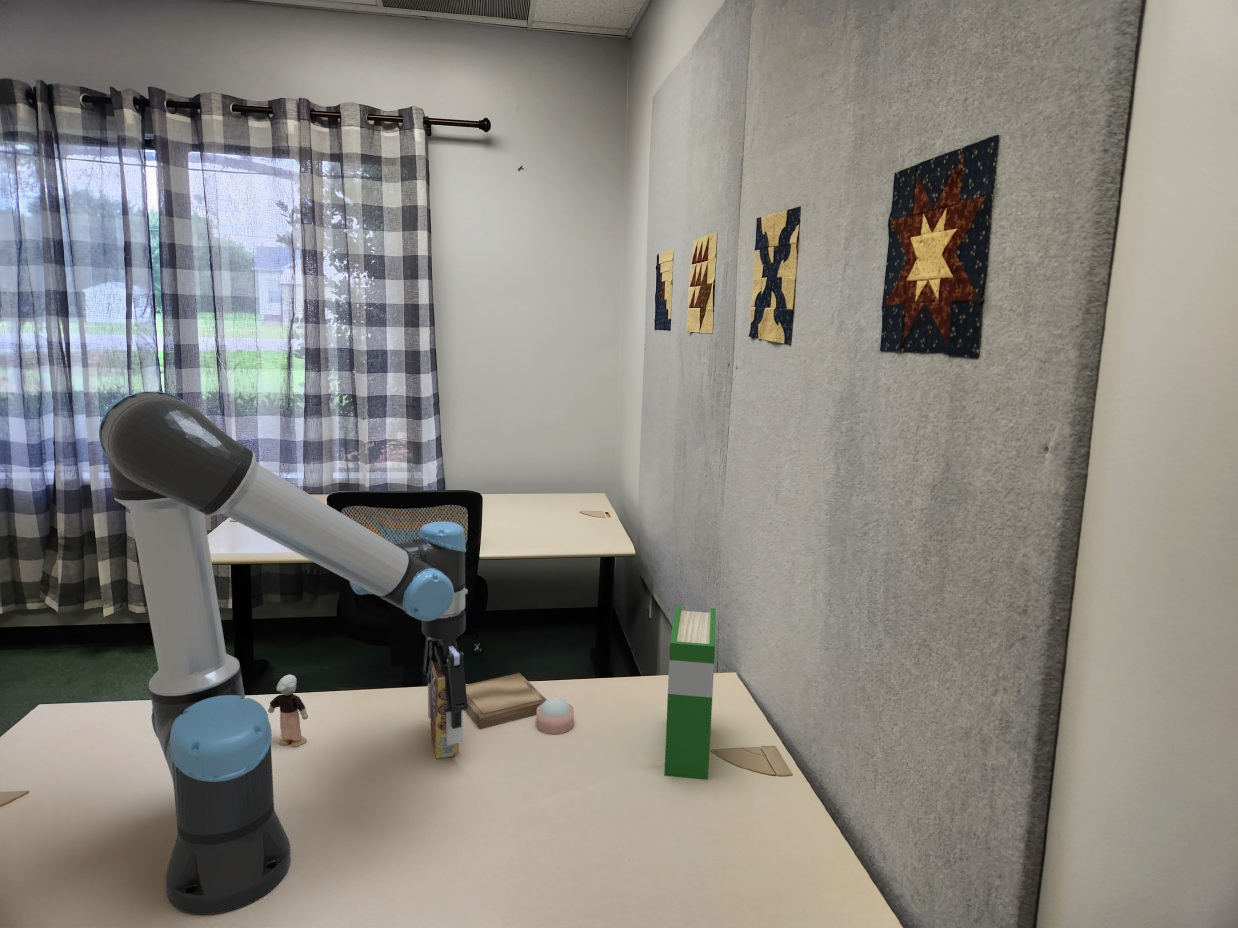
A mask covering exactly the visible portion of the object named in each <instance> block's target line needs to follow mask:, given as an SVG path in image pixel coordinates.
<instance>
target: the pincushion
mask: <svg viewBox="0 0 1238 928" xmlns="http://www.w3.org/2000/svg"><path fill="white" fill-rule="evenodd" d="M574 712H575V709H574V706H572V704H570V703H568V702H567V701H566V700H565V699H563V698H561V697H556V696H554V697H549V698H548V699H547V700H546V701H545V702H544V703H543V704H541V705H539V706H538V708H537V715H536V723H535V724H536V728H537V729H538V730H539V731H540V732H542V733H544V734H547V735H561V734H565V733H568V732H570V731H571V730H572V729H573V728H574V719H575V716H574V714H575V713H574Z"/></svg>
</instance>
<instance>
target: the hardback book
mask: <svg viewBox="0 0 1238 928" xmlns="http://www.w3.org/2000/svg"><path fill="white" fill-rule="evenodd" d="M716 611H717V609H716V608H715V607H714V608H712V607H711V608H710V612H704V611H691V610H689V611H688V610H682V606H681V605H676V606H675V610H674V617H673V622H672V627H671V628H672V629H671V634H670V640H669V641H670V642H669V657H668V659H669V661H668V680H667V681H668V683H667V685H668V686H667V700H666V701H667V702H666V703H667V704H666V706H667V707H666V726H665V729H666V730H665V748H664V751H665V752H664V753H665V754H664V777H665V776H666V777H673V778H674V777H675V778H676V777H677V778H684V779H695V780H701V781H703V780H704V781H708V780H709V765H710V764H709V763H710V746H711V729H712V711H713V692H714V675H715V656H716V654H715V653H716V625H717V624H716V623H717V619H716V617H717V612H716Z"/></svg>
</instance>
